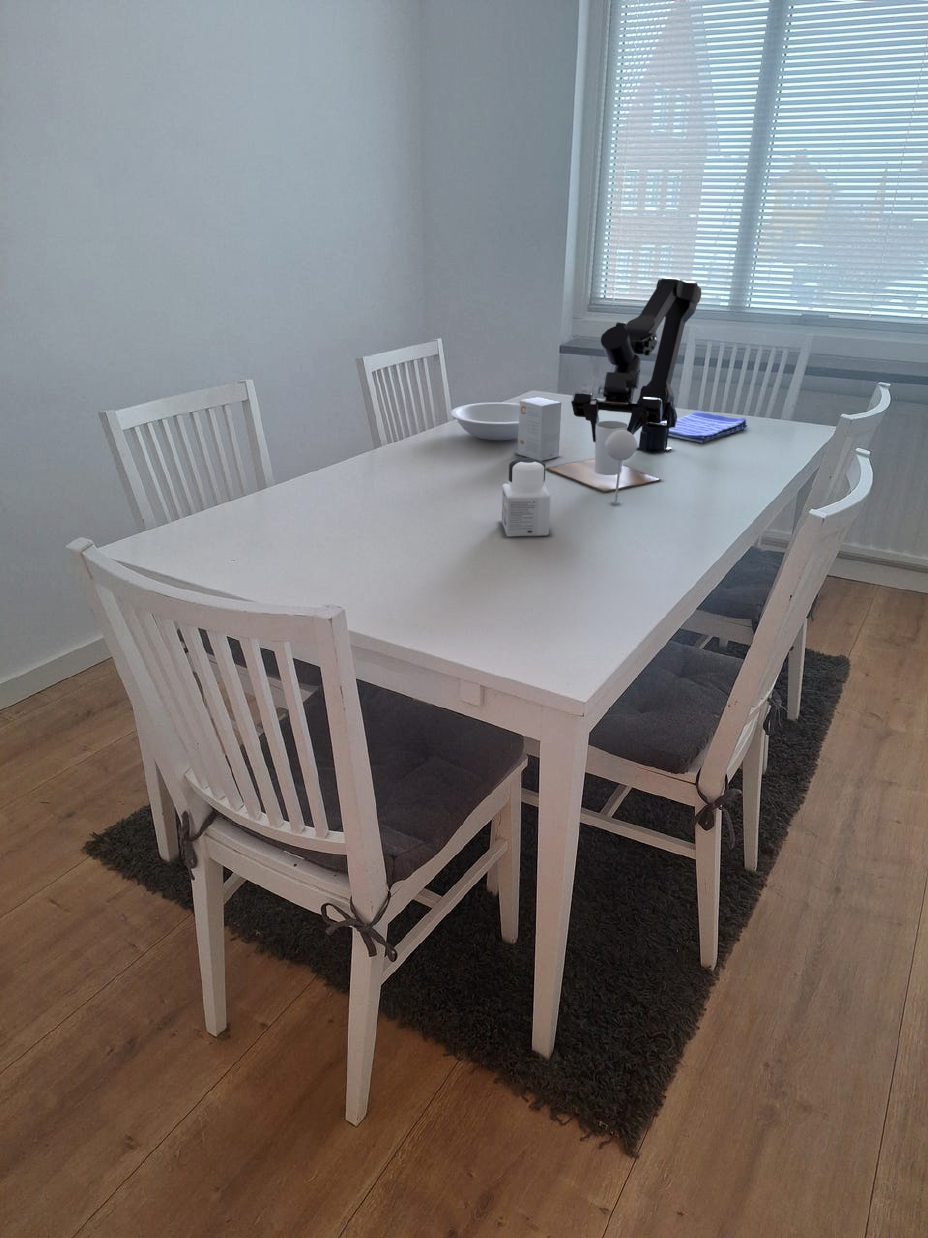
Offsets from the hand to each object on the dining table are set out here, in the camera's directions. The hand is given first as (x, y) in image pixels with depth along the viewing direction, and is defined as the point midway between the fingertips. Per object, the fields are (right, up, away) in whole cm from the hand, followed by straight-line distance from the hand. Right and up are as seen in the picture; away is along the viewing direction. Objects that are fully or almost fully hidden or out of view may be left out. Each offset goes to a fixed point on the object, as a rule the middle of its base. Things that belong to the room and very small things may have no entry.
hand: (609, 442), depth 170 cm
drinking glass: (0, -5, +4) cm, 7 cm away
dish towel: (+33, +14, +49) cm, 60 cm away
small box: (-13, +2, +26) cm, 29 cm away
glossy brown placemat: (+1, -5, +12) cm, 13 cm away
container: (-19, -20, -19) cm, 34 cm away
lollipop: (0, -14, -6) cm, 15 cm away
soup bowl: (-22, +10, +40) cm, 47 cm away
